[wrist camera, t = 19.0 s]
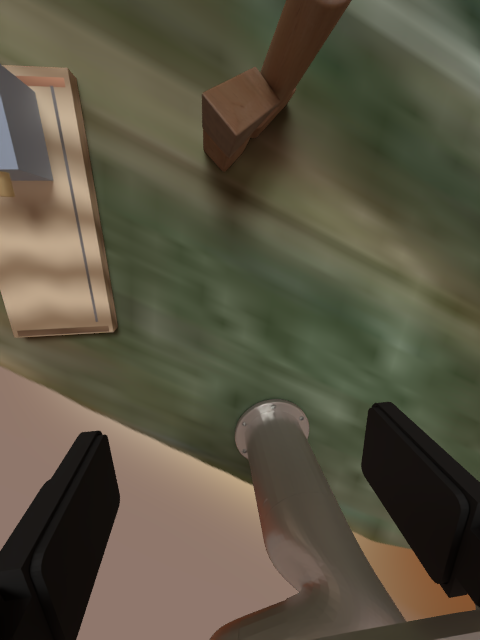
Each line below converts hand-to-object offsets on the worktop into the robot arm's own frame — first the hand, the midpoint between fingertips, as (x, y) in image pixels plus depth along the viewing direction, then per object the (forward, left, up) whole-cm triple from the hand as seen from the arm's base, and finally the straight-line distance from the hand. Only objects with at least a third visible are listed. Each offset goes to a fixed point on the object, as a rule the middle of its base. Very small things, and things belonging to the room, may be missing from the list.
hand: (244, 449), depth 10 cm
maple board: (+9, +20, -30) cm, 37 cm away
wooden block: (+19, -4, -30) cm, 36 cm away
